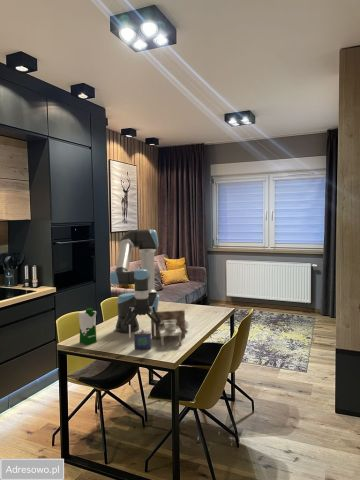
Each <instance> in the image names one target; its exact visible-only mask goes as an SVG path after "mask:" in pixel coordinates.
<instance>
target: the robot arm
mask: <svg viewBox="0 0 360 480" xmlns="http://www.w3.org/2000/svg"><path fill="white" fill-rule="evenodd" d="M118 248H119V249H118V255H117V260H116V266H115V270H114V271H111V272H110V274H109V275H110V276H109V281H110V284H111V285H114V286H116V285H117V286H121V285H124V286H125V285H133V286H134V292H125V293H122V294H119V295H118V297H117V321H116V324H115V332H116V333H117V332H118V333H123V334H125V333H126V334H128V339H131V333H136V332H138V331H139V330H140V323H139V321H138V319H137V317H138V315H139V316H145V315H147V316H148V317H149V318H150V320H151V319H152V320H153V321H154V336H156V330H157V329H158V323H161V320H160V319H159V317H158V315H157V313H156V312H158V310H159V305H160V304H159V303H160V294H158V292H157V290H156V289H155V286H156V285H155V279H156V278H155V252H156V251H157V248H159V237H158V234H157V231H156V230H155V229H132V230H131V229H130V230H129V231H127V232H126V233H124V234H123V235H122V237H121V238H120V240H119V243H118ZM134 248H138V251H139V252H140V268H139V269H138V268H137V269H135V270H129V269H130V264H131V257H132V252H133V249H134ZM151 312H154V314H155V316H156V318H157V320H158V321H156V320H155V319H154V317H153V316H152V315H151Z"/></svg>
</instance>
